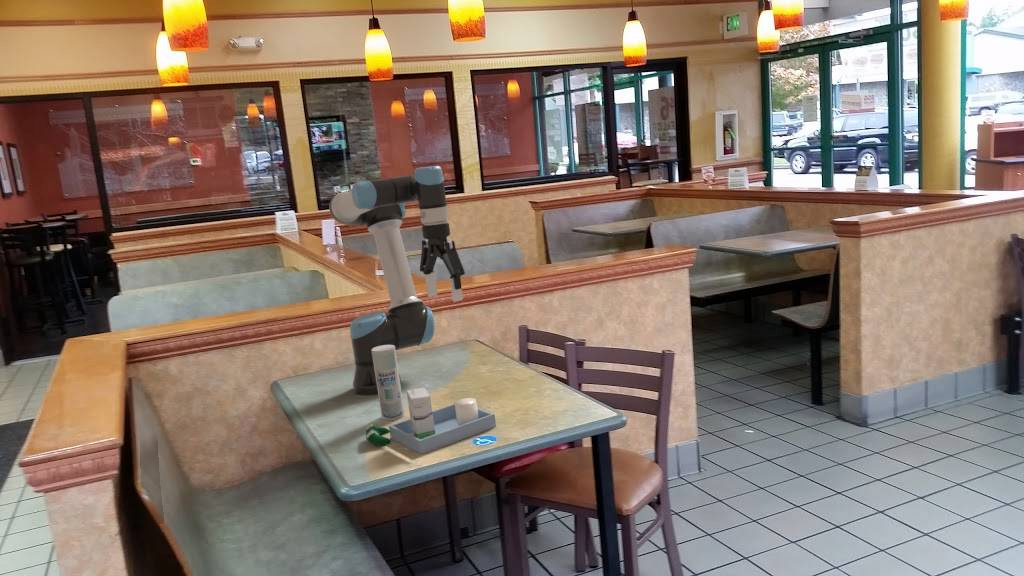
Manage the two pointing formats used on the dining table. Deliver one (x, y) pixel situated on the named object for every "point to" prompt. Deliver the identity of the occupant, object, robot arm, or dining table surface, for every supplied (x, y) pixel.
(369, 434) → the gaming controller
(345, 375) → the dining table surface
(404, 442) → the tote
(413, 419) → the ink box
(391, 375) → the spray can
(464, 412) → the white smooth rounded part
